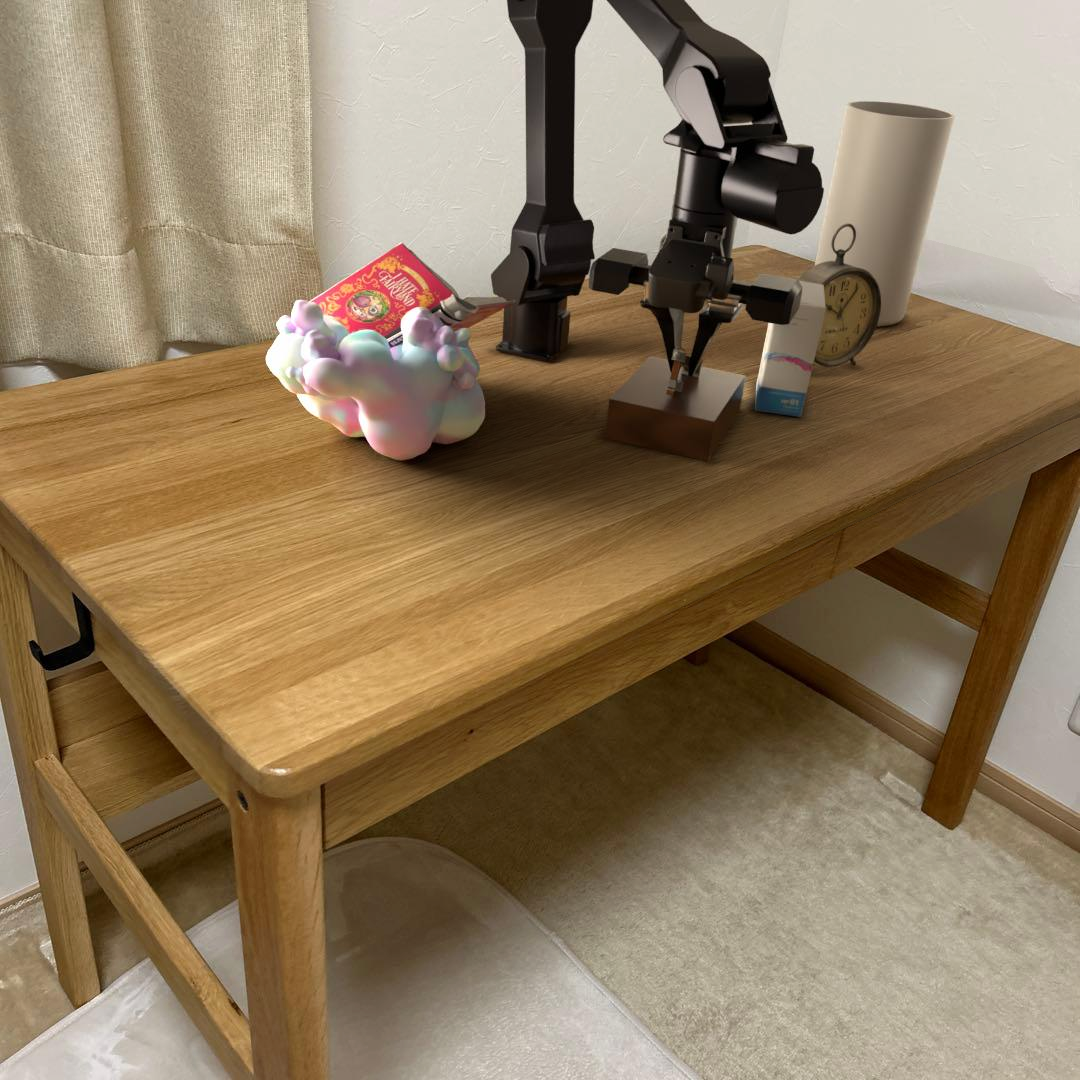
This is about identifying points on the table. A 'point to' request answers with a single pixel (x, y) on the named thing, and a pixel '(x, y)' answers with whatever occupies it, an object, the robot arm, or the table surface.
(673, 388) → the grey orange jointed piece
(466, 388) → the pastel bubbly cloud sculpture
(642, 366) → the walnut block
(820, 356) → the alarm clock
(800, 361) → the ink box
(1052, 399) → the table surface
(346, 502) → the table surface
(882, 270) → the cylinder vase
